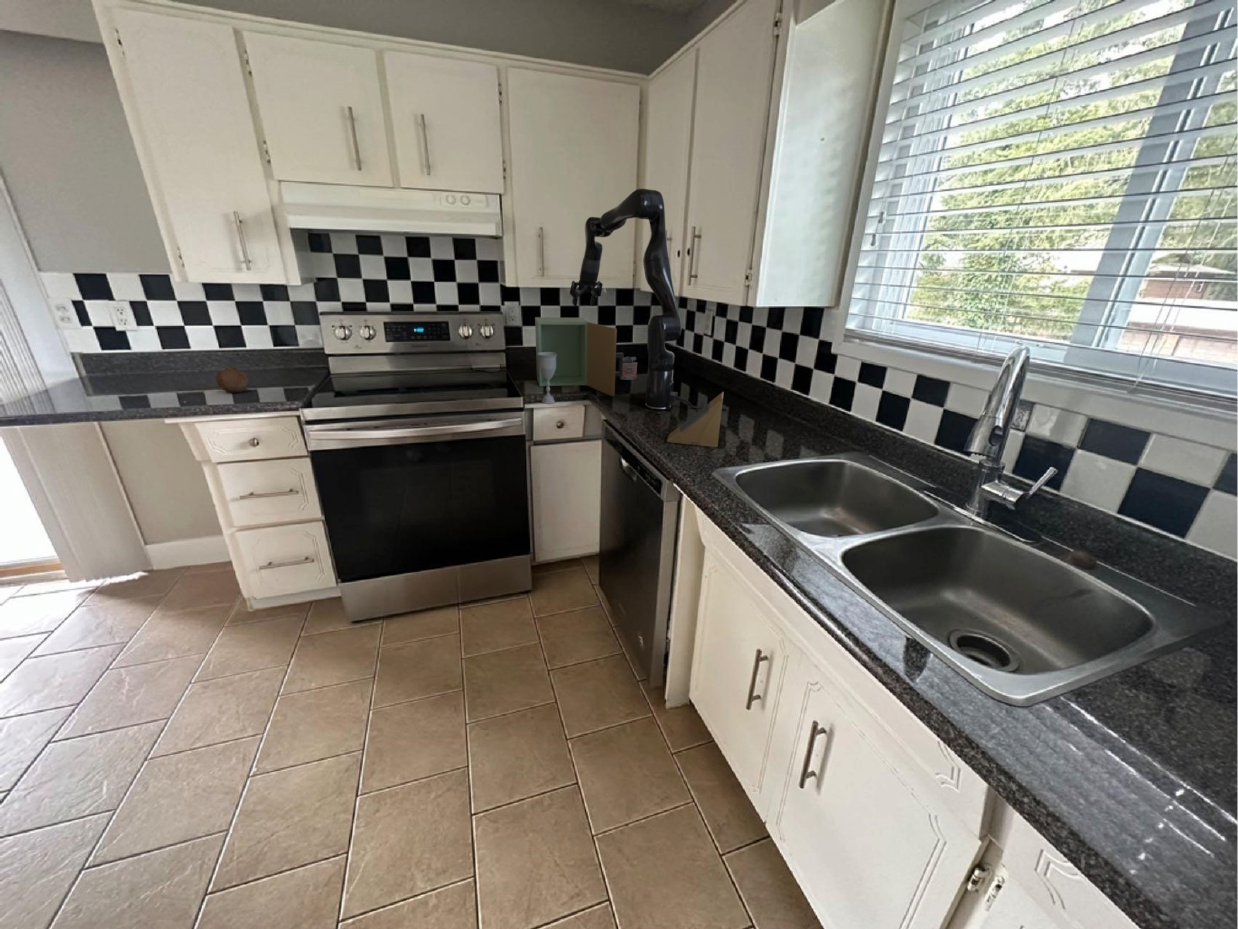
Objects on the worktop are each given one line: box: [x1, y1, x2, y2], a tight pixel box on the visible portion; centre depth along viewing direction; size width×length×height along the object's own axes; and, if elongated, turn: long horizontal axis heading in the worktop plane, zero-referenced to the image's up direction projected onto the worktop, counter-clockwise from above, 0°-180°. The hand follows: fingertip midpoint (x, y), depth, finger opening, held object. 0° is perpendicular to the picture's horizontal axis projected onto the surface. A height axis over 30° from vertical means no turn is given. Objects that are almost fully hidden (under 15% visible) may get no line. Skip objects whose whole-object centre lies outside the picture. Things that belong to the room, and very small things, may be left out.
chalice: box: [537, 352, 557, 405], centre depth 185 cm, size 7×7×18 cm
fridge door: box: [586, 321, 624, 397], centre depth 202 cm, size 6×20×26 cm, turn 33°
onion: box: [215, 366, 249, 394], centre depth 184 cm, size 10×9×10 cm
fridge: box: [534, 316, 589, 387], centre depth 213 cm, size 14×20×26 cm
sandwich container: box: [666, 391, 724, 448], centre depth 151 cm, size 9×15×15 cm, turn 78°
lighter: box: [618, 356, 638, 381], centre depth 226 cm, size 8×3×10 cm, turn 104°
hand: (583, 305), depth 218 cm, fingers open, 8 cm apart
